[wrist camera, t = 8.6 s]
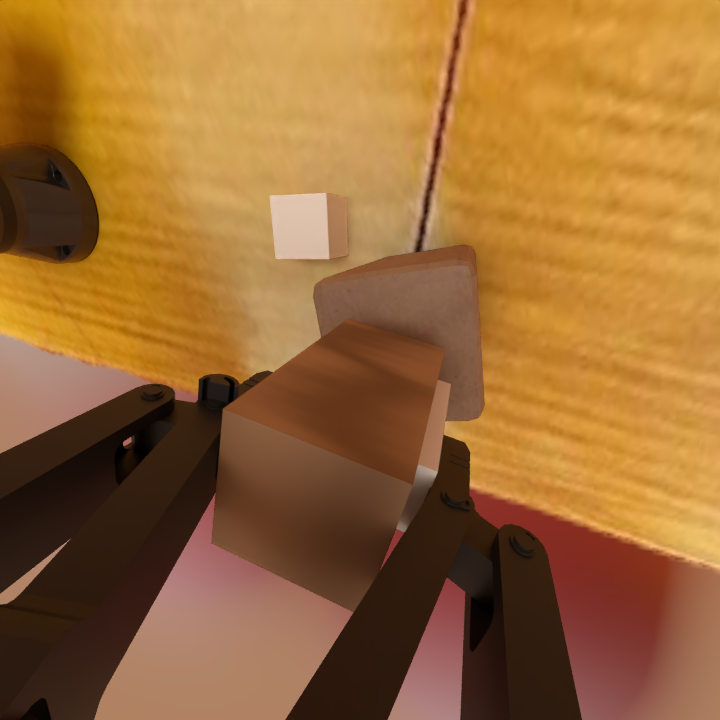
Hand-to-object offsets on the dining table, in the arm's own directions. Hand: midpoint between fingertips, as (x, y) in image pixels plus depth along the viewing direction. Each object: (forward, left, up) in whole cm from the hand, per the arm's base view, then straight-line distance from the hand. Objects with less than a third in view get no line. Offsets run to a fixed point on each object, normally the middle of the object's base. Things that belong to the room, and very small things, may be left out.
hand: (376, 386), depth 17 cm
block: (0, 0, -25) cm, 25 cm away
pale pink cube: (-14, +4, -25) cm, 29 cm away
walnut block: (0, 0, -1) cm, 1 cm away
